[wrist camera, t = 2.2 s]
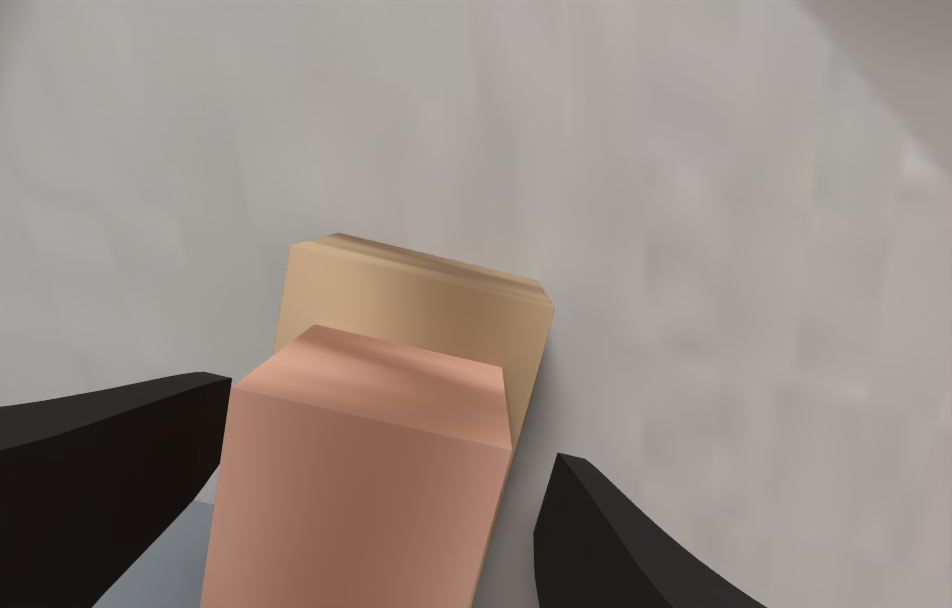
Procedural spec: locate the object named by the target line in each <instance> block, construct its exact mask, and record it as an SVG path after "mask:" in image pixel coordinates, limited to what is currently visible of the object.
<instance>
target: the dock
mask: <svg viewBox="0 0 952 608" xmlns="http://www.w3.org/2000/svg"><path fill="white" fill-rule="evenodd" d="M213 511H214V506H212V505H208V504H203V503H199V502H194V501H192V502H191V503H190V505H189V506H188V507H187V508H186V509H185V510H184V511H183V512H182V513H181V514H180V515H179V516H178V517H177V518H176V520H175V521H174V522H173V523H172V524H171V525H170V526H169V527H168V528H167V529H166V530H165V531H164V532H163V533H162V534H161V535H160V536H159V537H158V538H157V540H156V541H155V542H154V543H153V544H152V545H151V546H150V547H149V548H148V549H147V550H146V551H145V552H144V553H143V554H142V555H141V556H140V557H139V558H138V559H137V560H136V561H135V562H134V563H133V564H132V565H131V567H130V568H129V569H128V570H127V571H126V572H125V573H124V574H123V575H122V576H121V577H120V578H119V579H118V580H117V581H116V582H115V583H114V584H113V585H112V586H111V587H110V588H109V589H108V590H107V591H106V592H105V594H104V595H103V596H102V597H101V598H100V599H99V600H98V601H97V602H96V604H95V605H94V606H93V607H92V608H200V601H201V595H202V588H203V581H204V574H205V567H206V560H207V553H208V546H209V539H210V532H211V525H212V518H213Z"/></svg>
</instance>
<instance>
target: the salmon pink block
mask: <svg viewBox="0 0 952 608" xmlns="http://www.w3.org/2000/svg"><path fill="white" fill-rule="evenodd" d="M511 453H512V445H511V437H510V429H509V421H508V412H507V404H506V396H505V388H504V380H503V372H502V367H498V366H493V365H489V364H485V363H480V362H476V361H472V360H467V359H463V358H459V357H454V356H450V355H446V354H441V353H437V352H433V351H429V350H424V349H420V348H416V347H411V346H407V345H403V344H398V343H394V342H390V341H385V340H381V339H377V338H373V337H368V336H364V335H360V334H355V333H351V332H347V331H342V330H338V329H334V328H329V327H325V326H321V325H316V324H314V325H313V326H311V327H310V328H309V329H307V330H306V331H305V332H303V333H302V334H301V335H300V336H298V337H297V338H296V339H294V340H293V341H292V342H290V343H289V344H288V345H286V346H285V347H284V348H282V349H281V350H280V351H278V352H277V353H276V354H274V355H273V356H272V357H270V358H269V359H268V360H267V361H265V362H264V363H263V364H261V365H260V366H259V367H257V368H256V369H255V370H253V371H252V372H251V373H249V374H248V375H247V376H245V377H244V378H243V379H241V380H240V381H239V382H237V383H236V384H235V385H234V386H232V387H231V393H230V400H229V407H228V414H227V421H226V427H225V434H224V441H223V448H222V455H221V462H220V469H219V476H218V483H217V490H216V497H215V504H214V511H213V518H212V525H211V532H210V539H209V546H208V553H207V560H206V567H205V574H204V581H203V588H202V595H201V601H200V608H468V607H469V603H470V600H471V596H472V593H473V589H474V585H475V582H476V578H477V575H478V571H479V568H480V564H481V560H482V557H483V553H484V550H485V546H486V543H487V539H488V535H489V532H490V528H491V525H492V521H493V517H494V514H495V510H496V507H497V503H498V500H499V496H500V492H501V489H502V485H503V482H504V478H505V475H506V471H507V467H508V464H509V460H510V457H511Z"/></svg>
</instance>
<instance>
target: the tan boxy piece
mask: <svg viewBox="0 0 952 608" xmlns="http://www.w3.org/2000/svg"><path fill="white" fill-rule="evenodd" d="M554 311H555V307H554V305H553V304H552V302H551V301H550V299H549V298H548V296H547V295H546V293H545V292H544V290H543V289H542V287H541V286H540V285H539V283H538V282H537V280H533V279H529V278H525V277H521V276H517V275H512V274H508V273H504V272H500V271H496V270H492V269H487V268H483V267H479V266H475V265H471V264H467V263H462V262H458V261H454V260H450V259H446V258H442V257H437V256H433V255H429V254H425V253H421V252H417V251H412V250H408V249H404V248H400V247H396V246H392V245H387V244H383V243H379V242H375V241H371V240H367V239H362V238H358V237H354V236H350V235H346V234H341V233H337V234H333V235H329V236H325V237H321V238H316V239H312V240H308V241H304V242H300V243H296V244H292V245H290V249H289V256H288V262H287V268H286V274H285V281H284V287H283V293H282V299H281V306H280V312H279V318H278V324H277V331H276V337H275V343H274V349H273V355H274V354H276V353H277V352H278V351H280V350H281V349H282V348H284V347H285V346H286V345H288V344H289V343H290V342H292V341H293V340H294V339H296V338H297V337H298V336H300V335H301V334H302V333H303V332H305V331H306V330H307V329H309V328H310V327H311V326H313V325H314V324H316V325H321V326H325V327H329V328H334V329H338V330H342V331H347V332H351V333H355V334H360V335H364V336H368V337H373V338H377V339H381V340H385V341H390V342H394V343H398V344H403V345H407V346H411V347H416V348H420V349H424V350H429V351H433V352H437V353H441V354H446V355H450V356H454V357H459V358H463V359H467V360H472V361H476V362H480V363H485V364H489V365H493V366H498V367H502V372H503V380H504V388H505V396H506V404H507V412H508V421H509V429H510V437H511V445H512V453H511V457H510V460H509V464H508V467H507V471H506V475H505V478H504V482H503V485H502V489H501V492H500V496H499V500H498V503H497V507H496V510H495V514H494V517H493V521H492V525H491V528H490V532H489V535H488V539H487V543H486V546H485V550H484V553H483V557H482V560H481V564H480V568H479V571H478V575H477V578H476V582H475V585H474V589H473V593H472V596H471V600H470V603H469V607H468V608H471V607H472V603H473V600H474V596H475V593H476V589H477V586H478V582H479V578H480V575H481V571H482V568H483V564H484V561H485V557H486V554H487V550H488V546H489V543H490V539H491V536H492V532H493V529H494V525H495V521H496V518H497V514H498V511H499V507H500V504H501V500H502V497H503V493H504V489H505V486H506V482H507V479H508V475H509V472H510V468H511V465H512V461H513V457H514V454H515V450H516V447H517V443H518V440H519V436H520V432H521V429H522V425H523V422H524V418H525V415H526V411H527V408H528V404H529V400H530V397H531V393H532V390H533V386H534V383H535V379H536V375H537V372H538V368H539V365H540V361H541V358H542V354H543V351H544V347H545V343H546V340H547V336H548V333H549V329H550V326H551V322H552V319H553V315H554Z"/></svg>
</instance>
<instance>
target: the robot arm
mask: <svg viewBox="0 0 952 608" xmlns="http://www.w3.org/2000/svg"><path fill="white" fill-rule="evenodd" d="M231 382H232V378H229V377H224V376H220V375H216V374H211V373H207V372H194V373H187V374H180V375H175V376H169V377H164V378H159V379H154V380H149V381H145V382H140V383H135V384H130V385H125V386H120V387H116V388H111V389H106V390H101V391H95V392H90V393H84V394H78V395H73V396H67V397H62V398H56V399H51V400H45V401H39V402H32V403H25V404H18V405H11V406H3V407H0V608H92V607H93V606H94V605H95V604H96V602H97V601H98V600H99V599H100V598H101V597H102V596H103V595H104V594H105V592H106V591H107V590H108V589H109V588H110V587H111V586H112V585H113V584H114V583H115V582H116V581H117V580H118V579H119V578H120V577H121V576H122V575H123V574H124V573H125V572H126V571H127V570H128V569H129V568H130V567H131V565H132V564H133V563H134V562H135V561H136V560H137V559H138V558H139V557H140V556H141V555H142V554H143V553H144V552H145V551H146V550H147V549H148V548H149V547H150V546H151V545H152V544H153V543H154V542H155V541H156V540H157V538H158V537H159V536H160V535H161V534H162V533H163V532H164V531H165V530H166V529H167V528H168V527H169V526H170V525H171V524H172V523H173V522H174V521H175V520H176V518H177V517H178V516H179V515H180V514H181V513H182V512H183V511H184V510H185V509H186V508H187V507H188V506H189V505H190V503H191V502H192V501H193V500H194V498H195V497H196V496H197V494H198V493H199V492H200V490H201V489H202V488H203V487H204V485H205V484H206V482H207V481H208V480H209V478H210V477H211V475H212V474H213V472H214V471H215V470H216V468H217V467H218V465H219V464H220V459H221V452H222V445H223V438H224V431H225V424H226V417H227V410H228V403H229V396H230V389H231ZM533 534H534V568H535V581H536V588H537V594H538V600H539V606H540V608H767V607H765V606H764V605H762V604H760V603H759V602H757V601H756V600H754V599H753V598H751V597H750V596H748V595H747V594H745V593H744V592H742V591H741V590H739V589H738V588H736V587H735V586H733V585H732V584H731V583H729V582H728V581H727V580H725V579H724V578H722V577H721V576H720V575H718V574H717V573H716V572H714V571H713V570H712V569H710V568H709V567H708V566H706V565H705V564H704V563H702V562H701V561H699V560H698V559H697V558H696V557H694V556H693V555H692V554H691V553H689V552H688V551H687V550H686V549H684V548H683V547H682V546H681V545H680V544H678V543H677V542H676V541H675V540H674V539H673V538H671V537H670V536H669V535H668V534H667V533H666V532H664V531H663V530H662V529H661V528H660V527H659V526H657V525H656V524H655V523H654V522H653V521H652V520H651V519H650V518H649V517H648V516H646V515H645V514H644V513H643V512H642V511H641V510H640V509H639V508H638V507H637V506H636V505H635V504H634V503H633V502H631V501H630V500H629V499H628V498H627V497H626V496H625V495H624V494H623V493H622V492H621V491H620V490H619V489H618V488H617V487H616V486H615V485H614V484H613V483H612V482H611V481H610V480H609V479H608V478H607V477H605V476H604V475H603V474H602V473H601V472H600V471H599V470H598V469H597V468H596V467H595V466H593V465H592V464H591V463H590V462H588V461H587V460H586V459H584V458H579V457H575V456H571V455H566V454H562V453H557V456H556V460H555V463H554V466H553V470H552V473H551V476H550V480H549V483H548V486H547V490H546V493H545V496H544V500H543V503H542V506H541V510H540V513H539V516H538V519H537V523H536V526H535V529H534V533H533Z"/></svg>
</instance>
